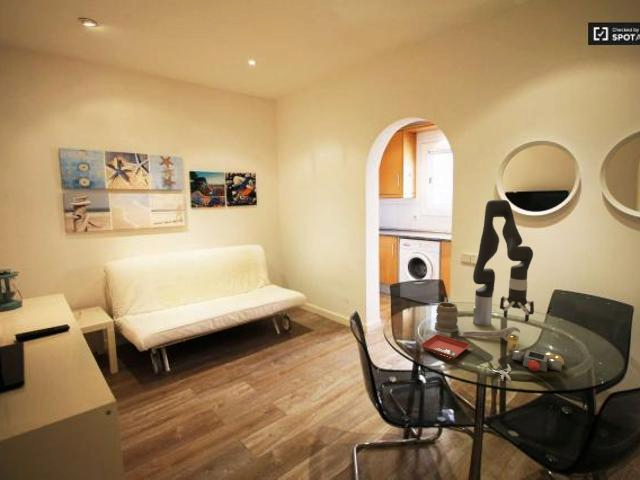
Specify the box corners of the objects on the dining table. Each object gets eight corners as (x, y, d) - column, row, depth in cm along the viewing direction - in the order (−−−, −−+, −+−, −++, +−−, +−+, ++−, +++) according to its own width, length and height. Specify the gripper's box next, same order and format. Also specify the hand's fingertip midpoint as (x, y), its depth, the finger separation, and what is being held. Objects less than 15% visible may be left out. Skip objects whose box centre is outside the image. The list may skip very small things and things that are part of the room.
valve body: (508, 366, 159) (509, 355, 158) (514, 355, 169) (514, 345, 168) (559, 379, 147) (560, 368, 146) (561, 366, 157) (562, 356, 156)
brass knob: (505, 352, 172) (506, 336, 171) (507, 348, 176) (508, 333, 175) (516, 354, 169) (517, 339, 168) (518, 351, 173) (519, 335, 172)
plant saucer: (470, 349, 176) (470, 343, 176) (455, 362, 163) (455, 356, 163) (436, 339, 189) (436, 333, 188) (419, 350, 176) (420, 344, 176)
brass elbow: (543, 358, 165) (546, 364, 160) (543, 351, 164) (547, 357, 159) (560, 360, 163) (564, 366, 157) (560, 353, 162) (564, 359, 157)
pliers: (508, 362, 160) (519, 379, 145) (508, 365, 160) (519, 383, 146) (485, 360, 162) (493, 377, 148) (485, 363, 162) (493, 380, 148)
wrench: (459, 339, 194) (520, 340, 183) (459, 341, 192) (521, 342, 181) (457, 326, 193) (519, 326, 182) (457, 327, 191) (520, 327, 181)
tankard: (458, 333, 195) (459, 307, 193) (434, 331, 199) (435, 305, 197) (457, 320, 213) (457, 296, 211) (435, 318, 218) (435, 295, 215)
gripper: (499, 286, 169) (498, 319, 172) (534, 291, 161) (531, 325, 163) (503, 283, 175) (501, 314, 177) (536, 287, 166) (534, 320, 169)
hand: (515, 319), depth 170 cm, fingers open, 8 cm apart
